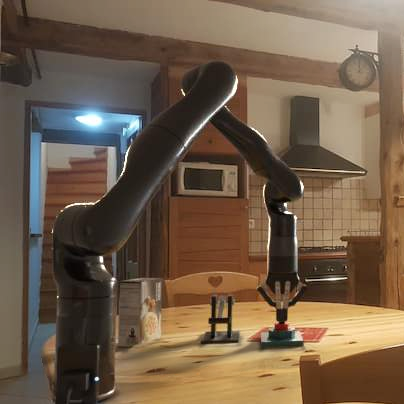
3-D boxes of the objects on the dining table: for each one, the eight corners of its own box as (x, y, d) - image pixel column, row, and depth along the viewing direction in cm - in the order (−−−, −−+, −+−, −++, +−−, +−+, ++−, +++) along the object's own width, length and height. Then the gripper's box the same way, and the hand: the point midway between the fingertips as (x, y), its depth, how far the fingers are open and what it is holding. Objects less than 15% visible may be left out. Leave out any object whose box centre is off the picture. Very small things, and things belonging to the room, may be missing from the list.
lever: (229, 326, 125) (229, 317, 124) (208, 327, 124) (208, 317, 124) (232, 303, 137) (232, 295, 136) (212, 304, 136) (212, 295, 135)
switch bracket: (238, 345, 129) (239, 297, 130) (200, 347, 127) (201, 298, 128) (240, 336, 141) (240, 292, 141) (205, 337, 139) (206, 292, 140)
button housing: (303, 349, 125) (303, 332, 125) (261, 351, 123) (261, 334, 123) (299, 339, 137) (299, 324, 137) (260, 340, 135) (261, 325, 135)
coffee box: (139, 338, 136) (141, 277, 137) (161, 340, 135) (163, 277, 136) (116, 346, 127) (118, 280, 128) (140, 347, 126) (141, 281, 127)
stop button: (289, 331, 129) (289, 324, 129) (274, 332, 128) (274, 324, 128) (288, 328, 132) (288, 321, 132) (274, 329, 132) (274, 322, 132)
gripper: (255, 254, 126) (254, 326, 125) (310, 254, 129) (309, 325, 128) (255, 253, 134) (254, 321, 133) (307, 253, 136) (306, 319, 135)
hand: (281, 323), depth 130 cm, fingers closed
